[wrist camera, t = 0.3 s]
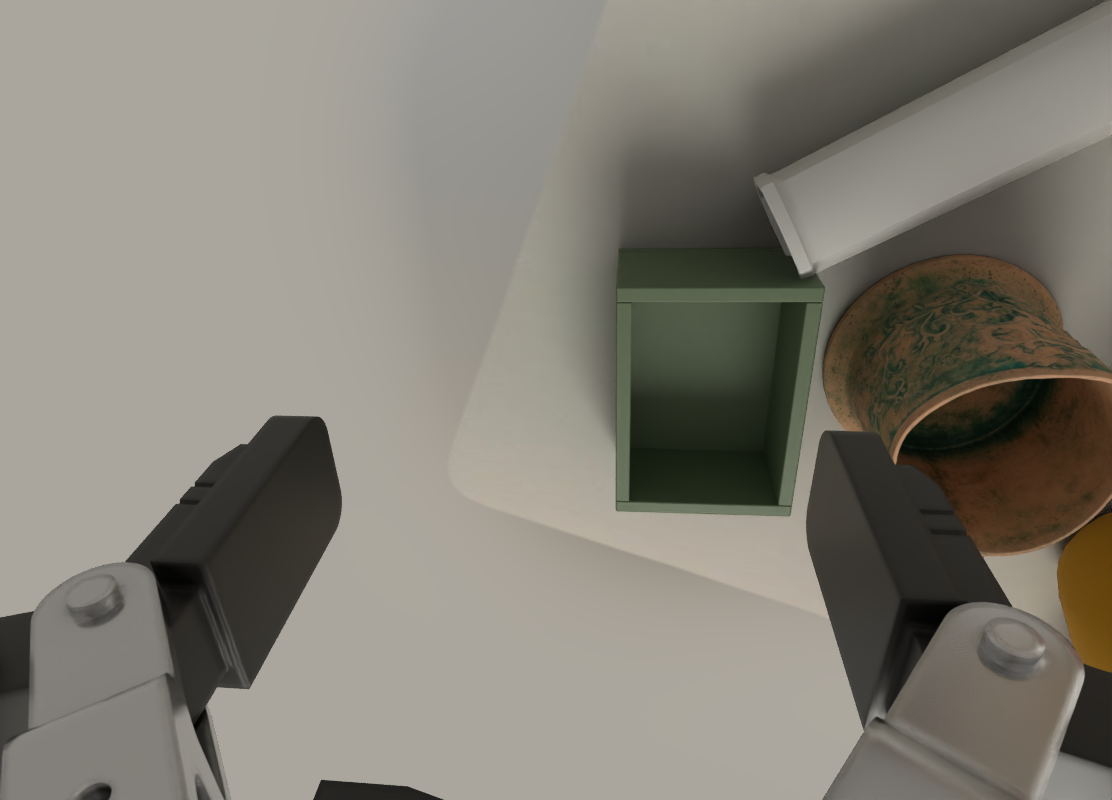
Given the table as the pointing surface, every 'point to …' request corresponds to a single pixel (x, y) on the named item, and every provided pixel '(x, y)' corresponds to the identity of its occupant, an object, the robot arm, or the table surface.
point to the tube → (947, 146)
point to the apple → (1089, 592)
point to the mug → (979, 397)
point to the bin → (712, 379)
